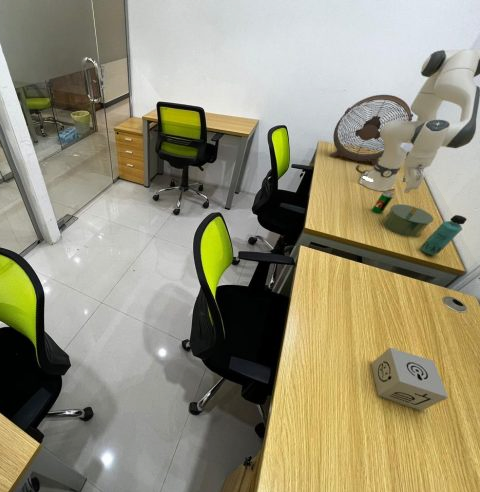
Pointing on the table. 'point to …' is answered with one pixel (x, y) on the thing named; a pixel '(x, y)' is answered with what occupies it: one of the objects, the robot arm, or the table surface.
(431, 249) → the beverage bottle
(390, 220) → the pot
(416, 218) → the lid
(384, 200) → the soda can
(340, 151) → the fan
